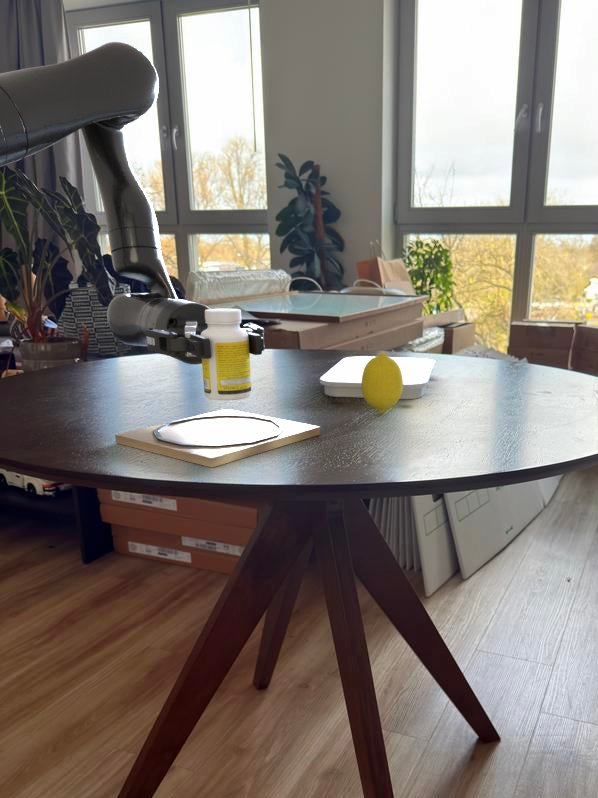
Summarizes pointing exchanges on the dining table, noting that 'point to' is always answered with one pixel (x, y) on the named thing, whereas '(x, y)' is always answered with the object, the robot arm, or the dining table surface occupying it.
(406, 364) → the white rectangular tray
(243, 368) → the supplement bottle
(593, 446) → the dining table surface
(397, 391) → the lemon
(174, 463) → the dining table surface
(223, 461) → the mirror board
